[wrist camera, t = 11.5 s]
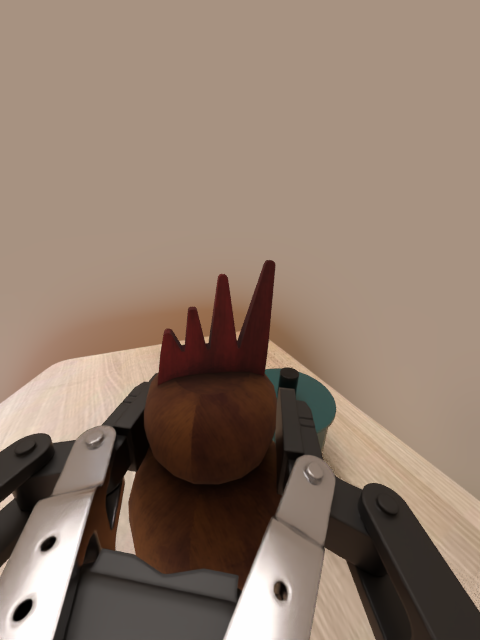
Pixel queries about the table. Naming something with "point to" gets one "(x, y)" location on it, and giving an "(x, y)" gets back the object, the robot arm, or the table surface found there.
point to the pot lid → (306, 394)
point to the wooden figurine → (209, 444)
